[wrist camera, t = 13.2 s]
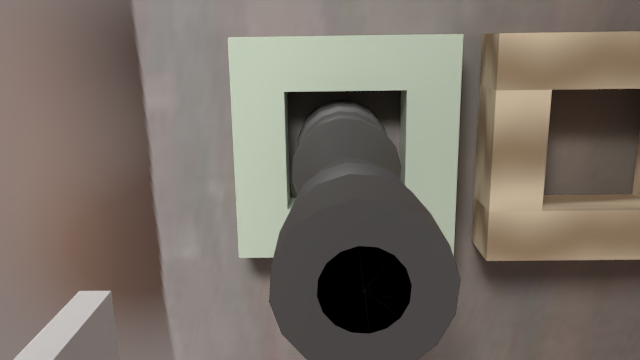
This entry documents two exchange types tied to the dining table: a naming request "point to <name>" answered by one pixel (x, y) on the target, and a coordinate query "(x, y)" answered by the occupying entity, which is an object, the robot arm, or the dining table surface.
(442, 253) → the candle holder
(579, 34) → the birch collar
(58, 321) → the robot arm
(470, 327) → the dining table surface
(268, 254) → the green collar
